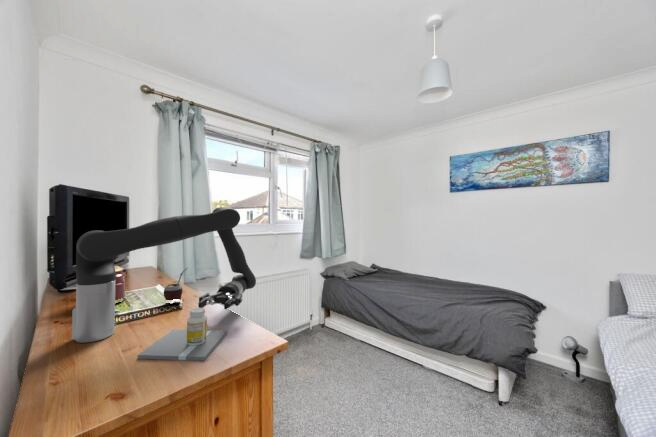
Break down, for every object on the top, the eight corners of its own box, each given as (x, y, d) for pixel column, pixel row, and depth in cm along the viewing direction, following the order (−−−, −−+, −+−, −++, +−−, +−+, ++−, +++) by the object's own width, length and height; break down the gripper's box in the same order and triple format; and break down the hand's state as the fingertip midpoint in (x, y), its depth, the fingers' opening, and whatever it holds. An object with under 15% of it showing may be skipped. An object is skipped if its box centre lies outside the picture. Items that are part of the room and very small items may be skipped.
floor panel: (137, 358, 71) (137, 355, 71) (172, 332, 87) (172, 329, 87) (204, 360, 71) (204, 356, 71) (227, 334, 87) (227, 330, 87)
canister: (122, 296, 122) (123, 258, 122) (127, 303, 113) (128, 262, 113) (84, 302, 113) (85, 261, 112) (86, 310, 103) (87, 266, 103)
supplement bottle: (195, 347, 75) (196, 314, 75) (182, 343, 77) (183, 311, 77) (210, 339, 80) (211, 308, 80) (197, 336, 82) (198, 305, 82)
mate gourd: (159, 306, 111) (160, 270, 111) (170, 300, 119) (171, 267, 119) (177, 306, 111) (178, 271, 111) (187, 300, 119) (188, 267, 119)
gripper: (213, 282, 105) (191, 294, 89) (248, 283, 105) (233, 295, 89) (212, 301, 105) (191, 316, 89) (248, 302, 105) (233, 317, 89)
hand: (212, 306), depth 89 cm, fingers open, 8 cm apart
